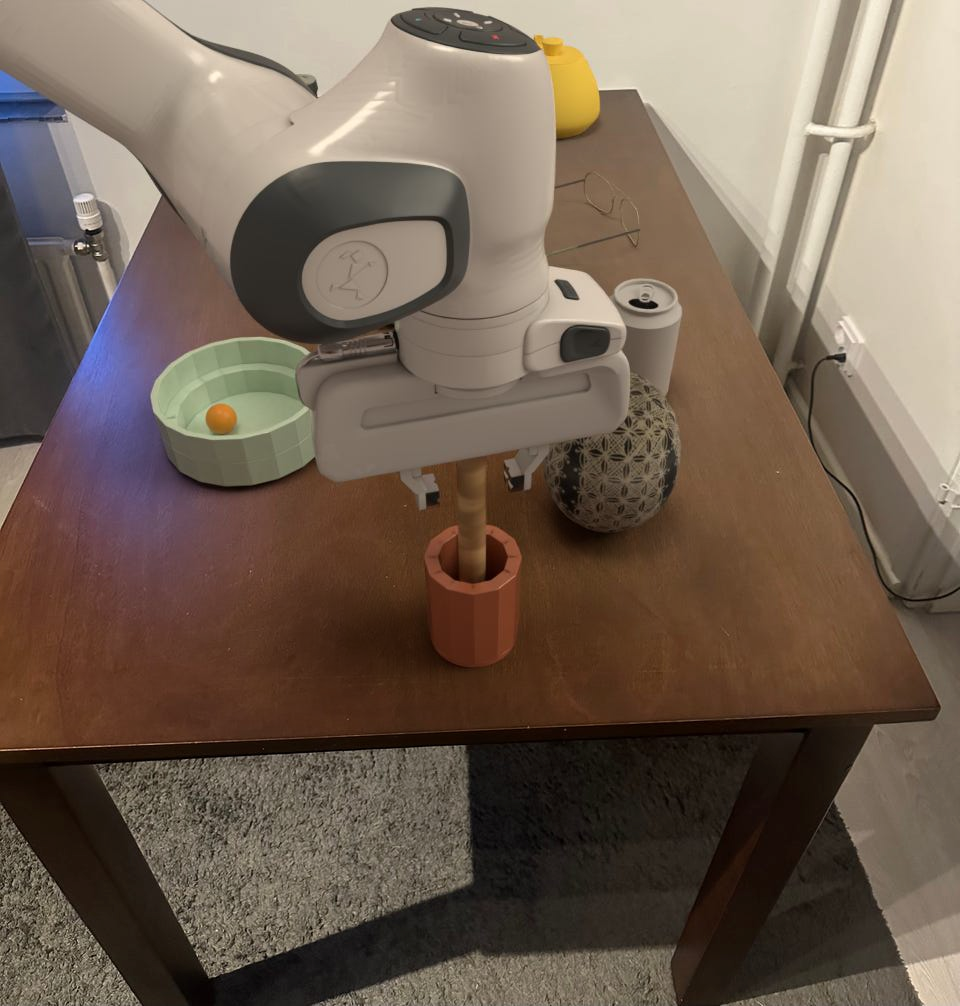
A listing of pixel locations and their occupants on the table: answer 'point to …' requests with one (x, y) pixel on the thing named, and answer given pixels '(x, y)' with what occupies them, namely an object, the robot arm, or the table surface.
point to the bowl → (256, 401)
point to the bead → (221, 418)
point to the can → (649, 327)
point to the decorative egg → (619, 466)
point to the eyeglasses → (602, 211)
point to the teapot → (570, 87)
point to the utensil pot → (473, 600)
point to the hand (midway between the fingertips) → (472, 494)
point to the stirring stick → (471, 519)
